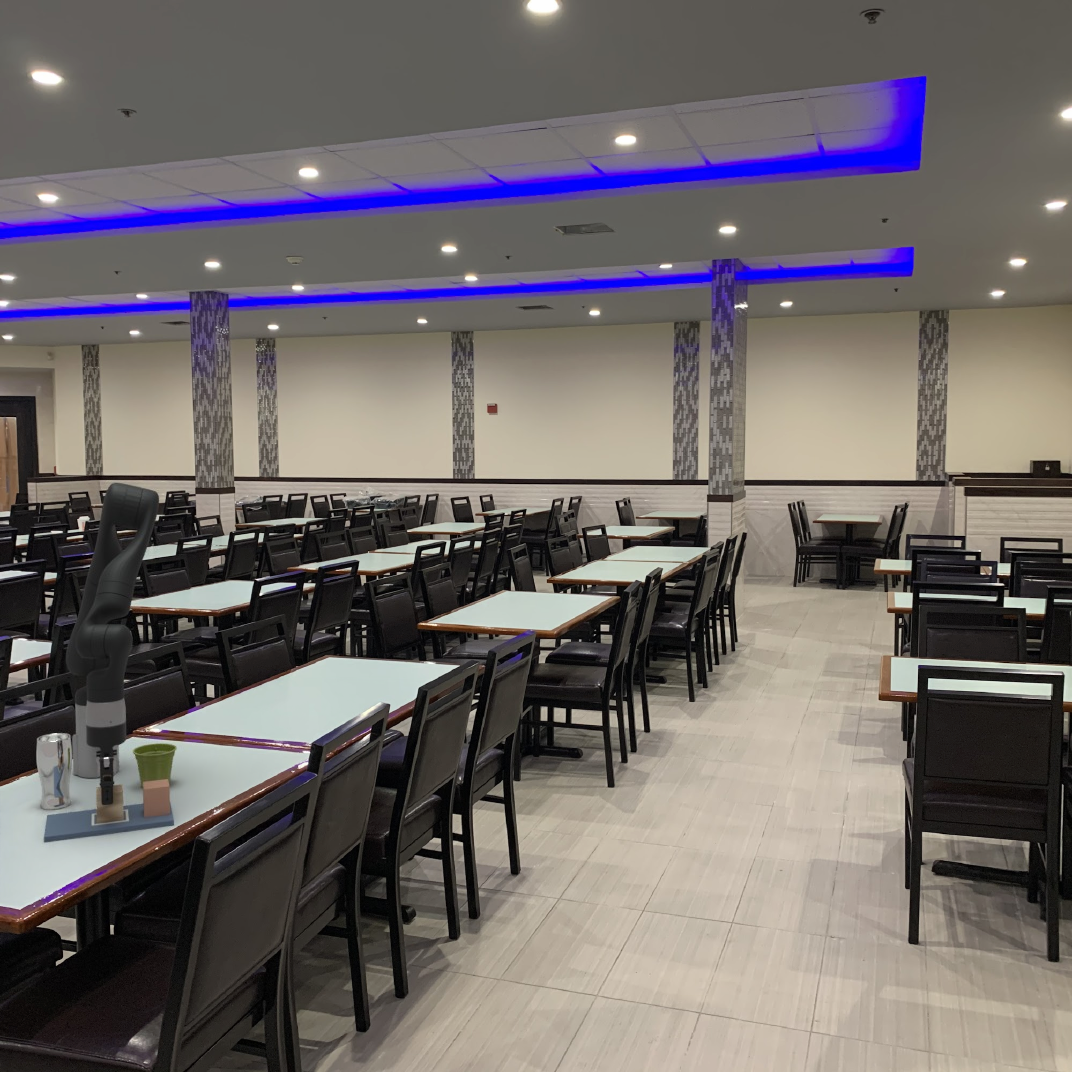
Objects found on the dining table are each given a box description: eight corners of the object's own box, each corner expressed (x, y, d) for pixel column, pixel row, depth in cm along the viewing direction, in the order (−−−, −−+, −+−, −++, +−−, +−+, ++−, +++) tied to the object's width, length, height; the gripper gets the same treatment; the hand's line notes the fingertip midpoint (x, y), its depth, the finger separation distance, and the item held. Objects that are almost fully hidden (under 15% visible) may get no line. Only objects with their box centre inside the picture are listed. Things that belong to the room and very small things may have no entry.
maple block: (96, 823, 202) (96, 794, 202) (97, 815, 207) (96, 787, 206) (123, 820, 204) (122, 791, 204) (123, 812, 209) (122, 784, 208)
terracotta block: (144, 817, 206) (143, 789, 205) (143, 809, 210) (142, 781, 210) (170, 814, 208) (169, 786, 207) (168, 806, 212) (168, 779, 212)
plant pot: (142, 778, 233) (142, 742, 232) (183, 779, 233) (182, 743, 233) (126, 792, 224) (126, 754, 223) (168, 792, 224) (168, 755, 223)
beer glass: (50, 813, 211) (48, 743, 209) (31, 806, 214) (29, 738, 213) (80, 803, 216) (78, 736, 215) (61, 797, 220) (59, 731, 219)
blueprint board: (44, 842, 195) (43, 836, 195) (47, 819, 207) (47, 814, 207) (173, 825, 204) (173, 819, 204) (169, 804, 216) (169, 799, 216)
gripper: (126, 728, 199) (127, 806, 200) (125, 710, 212) (126, 784, 213) (85, 731, 196) (86, 811, 197) (86, 713, 209) (88, 788, 210)
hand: (107, 797), depth 205 cm, fingers open, 8 cm apart
